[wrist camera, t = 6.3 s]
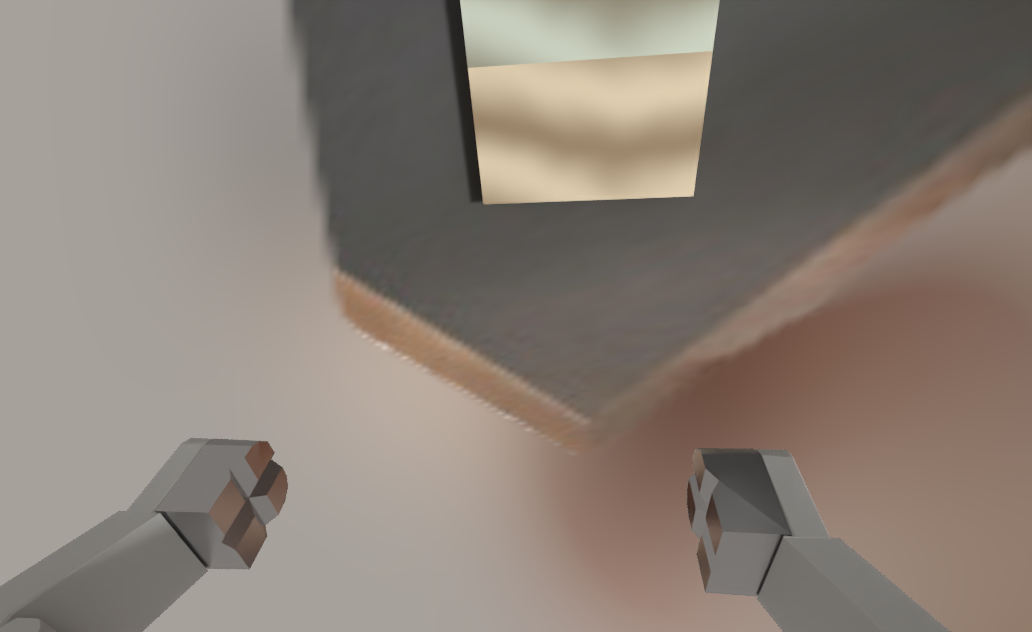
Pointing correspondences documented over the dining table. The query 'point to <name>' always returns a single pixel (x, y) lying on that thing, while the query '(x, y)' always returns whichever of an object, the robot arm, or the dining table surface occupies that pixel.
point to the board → (588, 96)
